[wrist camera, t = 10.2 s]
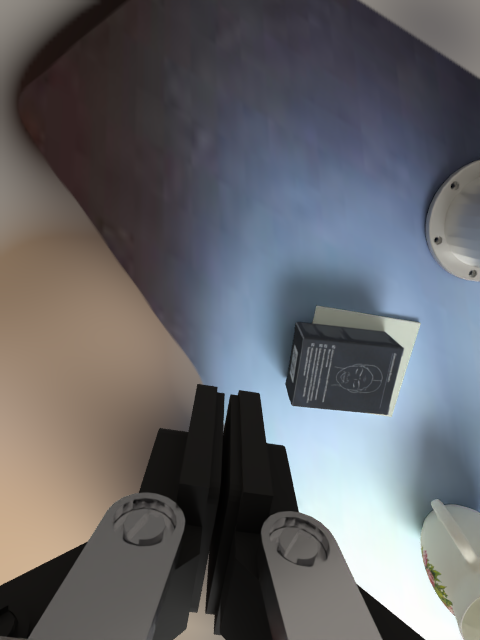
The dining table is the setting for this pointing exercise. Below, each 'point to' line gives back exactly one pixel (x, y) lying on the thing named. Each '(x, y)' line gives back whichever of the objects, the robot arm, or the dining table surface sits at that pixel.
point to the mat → (394, 327)
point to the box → (342, 368)
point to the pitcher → (454, 562)
